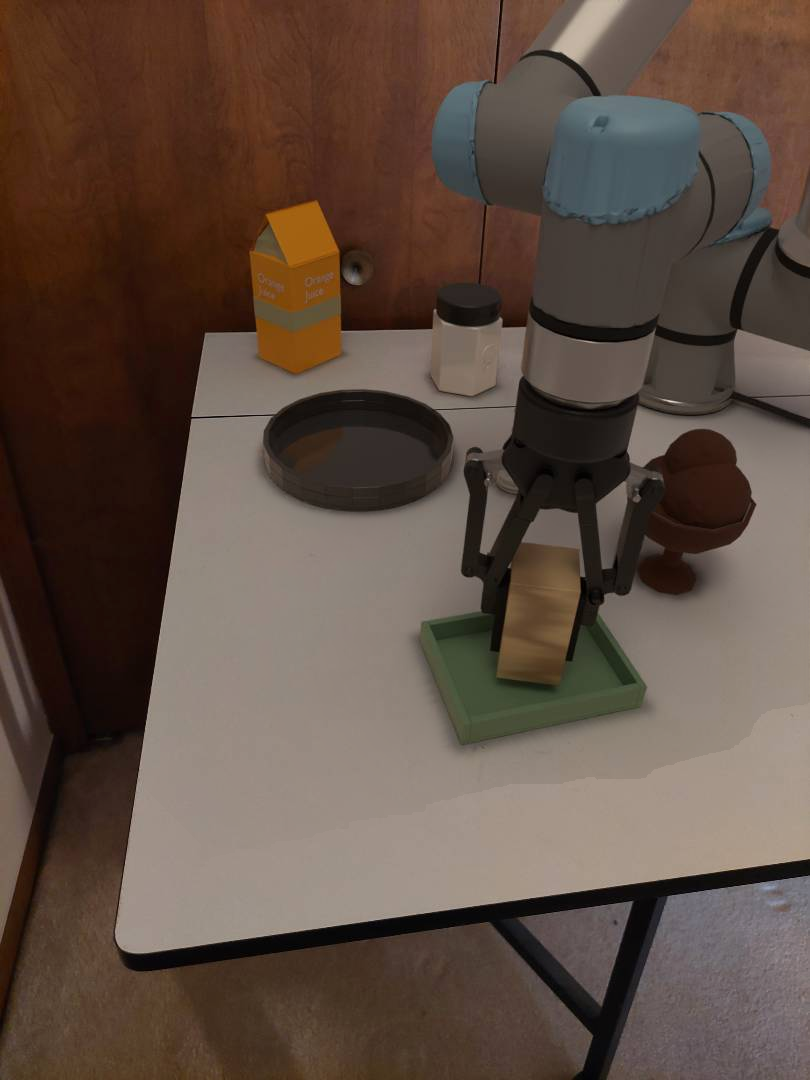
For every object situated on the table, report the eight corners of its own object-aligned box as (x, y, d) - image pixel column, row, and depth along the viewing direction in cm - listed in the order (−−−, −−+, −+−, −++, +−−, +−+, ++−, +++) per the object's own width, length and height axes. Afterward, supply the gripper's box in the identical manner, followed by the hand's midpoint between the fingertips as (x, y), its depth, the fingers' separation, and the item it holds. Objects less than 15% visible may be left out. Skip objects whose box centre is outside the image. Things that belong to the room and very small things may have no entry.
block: (559, 641, 67) (579, 548, 61) (559, 686, 63) (580, 591, 57) (499, 633, 68) (513, 540, 61) (496, 677, 64) (510, 583, 57)
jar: (462, 403, 102) (469, 313, 95) (417, 380, 107) (421, 293, 99) (507, 382, 107) (518, 295, 100) (463, 361, 112) (470, 276, 104)
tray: (580, 612, 72) (585, 593, 71) (641, 706, 64) (647, 686, 63) (419, 641, 69) (420, 621, 67) (461, 745, 61) (463, 724, 59)
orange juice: (342, 354, 112) (339, 206, 100) (295, 374, 107) (286, 220, 95) (304, 337, 116) (296, 192, 104) (257, 356, 111) (243, 206, 99)
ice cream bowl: (586, 555, 79) (616, 422, 70) (677, 530, 83) (717, 401, 73) (653, 626, 71) (696, 487, 62) (750, 595, 75) (804, 460, 66)
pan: (459, 420, 99) (461, 398, 97) (440, 521, 82) (442, 498, 81) (292, 403, 101) (291, 381, 99) (240, 499, 85) (238, 475, 83)
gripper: (718, 368, 52) (641, 626, 66) (442, 343, 54) (425, 599, 68) (739, 426, 46) (649, 694, 61) (429, 395, 48) (413, 663, 62)
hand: (531, 643), depth 64 cm, fingers closed on block, 5 cm apart
